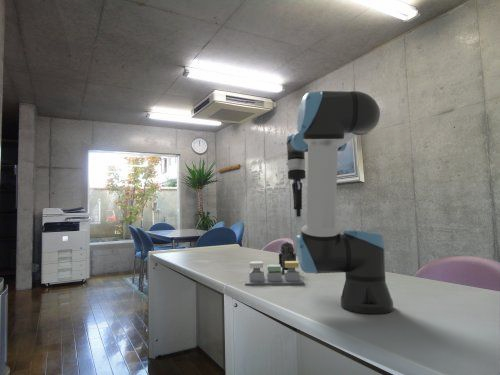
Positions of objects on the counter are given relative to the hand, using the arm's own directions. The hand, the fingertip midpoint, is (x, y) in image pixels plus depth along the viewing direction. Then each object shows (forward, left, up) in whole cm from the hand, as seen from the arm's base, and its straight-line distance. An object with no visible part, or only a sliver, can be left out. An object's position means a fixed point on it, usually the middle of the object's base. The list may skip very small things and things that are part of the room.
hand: (298, 224), depth 137 cm
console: (+8, +8, -24) cm, 26 cm away
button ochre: (+3, +2, -21) cm, 21 cm away
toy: (+18, -8, -24) cm, 31 cm away
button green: (+8, +8, -23) cm, 25 cm away
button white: (+12, +14, -21) cm, 28 cm away
